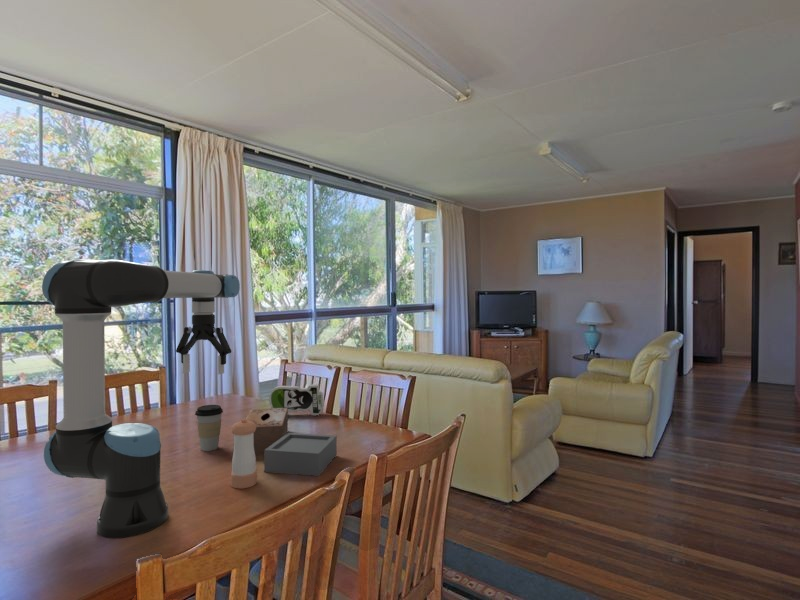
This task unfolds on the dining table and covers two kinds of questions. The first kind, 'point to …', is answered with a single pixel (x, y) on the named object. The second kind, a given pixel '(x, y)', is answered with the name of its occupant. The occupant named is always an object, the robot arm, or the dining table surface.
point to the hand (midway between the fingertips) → (203, 373)
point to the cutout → (297, 398)
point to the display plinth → (300, 454)
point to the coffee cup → (209, 426)
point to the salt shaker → (243, 455)
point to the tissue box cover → (268, 426)
